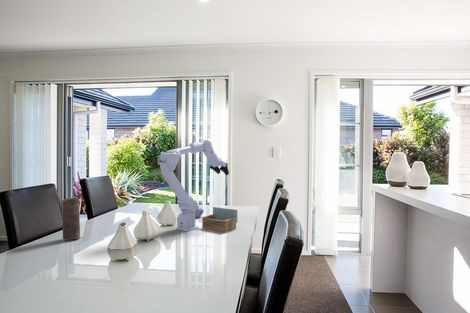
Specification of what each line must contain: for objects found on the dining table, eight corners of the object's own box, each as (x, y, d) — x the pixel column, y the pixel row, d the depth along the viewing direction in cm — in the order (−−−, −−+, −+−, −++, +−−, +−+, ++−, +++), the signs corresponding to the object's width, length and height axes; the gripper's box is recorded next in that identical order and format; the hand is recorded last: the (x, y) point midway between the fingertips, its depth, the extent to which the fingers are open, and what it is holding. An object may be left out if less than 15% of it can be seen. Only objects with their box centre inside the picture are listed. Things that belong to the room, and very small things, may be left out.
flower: (199, 209, 185) (198, 200, 194) (187, 215, 186) (186, 205, 194) (206, 220, 190) (204, 210, 199) (193, 225, 190) (192, 215, 199)
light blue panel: (236, 223, 166) (236, 210, 166) (212, 219, 175) (212, 207, 175) (237, 222, 167) (237, 209, 167) (214, 219, 176) (214, 206, 176)
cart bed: (226, 232, 158) (226, 220, 158) (202, 228, 167) (202, 217, 167) (236, 228, 166) (235, 217, 165) (212, 224, 175) (212, 214, 174)
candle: (72, 242, 143) (71, 199, 142) (58, 241, 144) (58, 198, 144) (83, 237, 150) (83, 196, 150) (70, 236, 152) (69, 196, 151)
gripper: (224, 153, 176) (235, 170, 183) (208, 151, 186) (219, 167, 193) (217, 161, 172) (228, 178, 179) (201, 159, 183) (212, 175, 190)
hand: (223, 173), depth 186 cm, fingers open, 7 cm apart
